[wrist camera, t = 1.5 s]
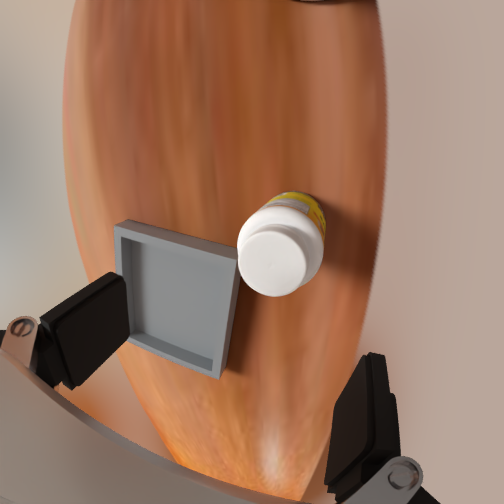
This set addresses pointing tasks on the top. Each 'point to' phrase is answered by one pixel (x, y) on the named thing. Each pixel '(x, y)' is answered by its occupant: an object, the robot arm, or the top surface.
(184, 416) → the top surface
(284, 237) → the supplement bottle
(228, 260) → the tray
